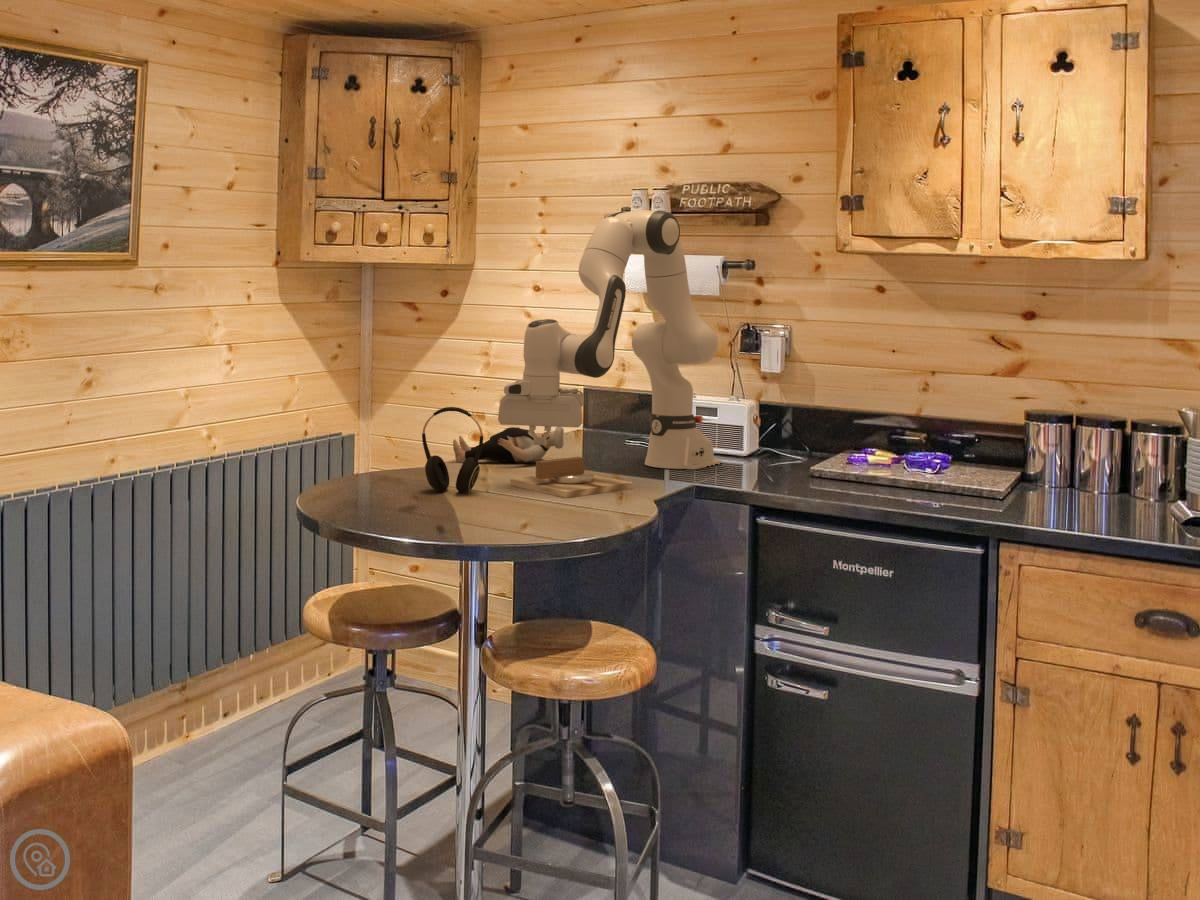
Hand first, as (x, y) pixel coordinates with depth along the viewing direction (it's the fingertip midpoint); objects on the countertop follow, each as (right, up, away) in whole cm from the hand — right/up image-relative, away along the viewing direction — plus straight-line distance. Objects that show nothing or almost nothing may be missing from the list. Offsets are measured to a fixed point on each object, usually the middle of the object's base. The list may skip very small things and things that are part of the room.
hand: (539, 444), depth 271 cm
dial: (+6, -9, 0) cm, 10 cm away
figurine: (-10, -5, +39) cm, 40 cm away
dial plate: (+8, -10, +1) cm, 13 cm away
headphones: (-20, -11, -8) cm, 24 cm away
